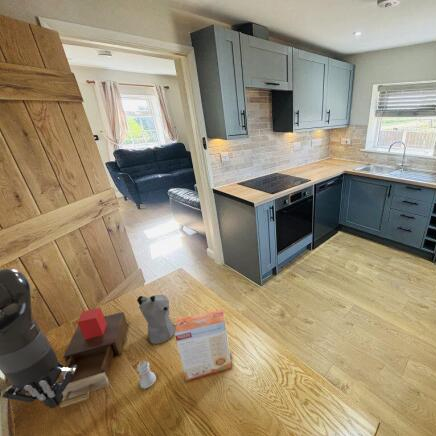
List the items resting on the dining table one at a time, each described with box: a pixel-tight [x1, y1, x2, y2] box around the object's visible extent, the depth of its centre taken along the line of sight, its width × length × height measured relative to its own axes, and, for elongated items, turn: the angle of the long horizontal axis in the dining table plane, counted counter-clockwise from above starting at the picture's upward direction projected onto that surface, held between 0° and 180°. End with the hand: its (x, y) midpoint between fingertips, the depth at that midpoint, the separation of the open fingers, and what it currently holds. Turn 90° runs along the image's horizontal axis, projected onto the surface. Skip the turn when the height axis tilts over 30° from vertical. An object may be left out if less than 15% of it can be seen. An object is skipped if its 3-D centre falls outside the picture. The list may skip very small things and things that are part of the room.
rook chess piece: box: [136, 360, 157, 389], centre depth 73 cm, size 4×4×8 cm
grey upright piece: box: [136, 294, 176, 345], centre depth 87 cm, size 15×9×18 cm, turn 67°
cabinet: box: [62, 311, 129, 364], centre depth 84 cm, size 15×14×7 cm
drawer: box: [58, 345, 115, 409], centre depth 73 cm, size 18×12×5 cm
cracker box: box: [174, 308, 232, 382], centre depth 75 cm, size 14×6×21 cm, turn 108°
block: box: [76, 307, 107, 340], centre depth 82 cm, size 5×5×8 cm
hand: (56, 403), depth 58 cm, fingers closed
